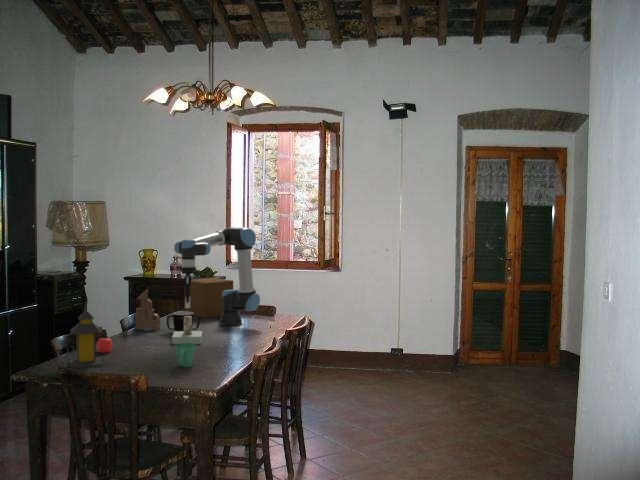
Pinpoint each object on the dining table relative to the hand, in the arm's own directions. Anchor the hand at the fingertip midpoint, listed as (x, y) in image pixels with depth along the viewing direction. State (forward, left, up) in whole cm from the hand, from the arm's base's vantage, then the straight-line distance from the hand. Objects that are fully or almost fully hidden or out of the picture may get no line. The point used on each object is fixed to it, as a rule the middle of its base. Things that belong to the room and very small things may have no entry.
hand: (187, 307), depth 344 cm
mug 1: (+4, -25, -19) cm, 32 cm away
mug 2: (-2, +59, -19) cm, 62 cm away
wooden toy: (+27, -37, -19) cm, 50 cm away
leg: (0, 0, -19) cm, 19 cm away
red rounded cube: (+41, +24, -19) cm, 51 cm away
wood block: (-10, -90, -19) cm, 93 cm away
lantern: (+45, +49, -19) cm, 69 cm away
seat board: (0, 0, -19) cm, 19 cm away
